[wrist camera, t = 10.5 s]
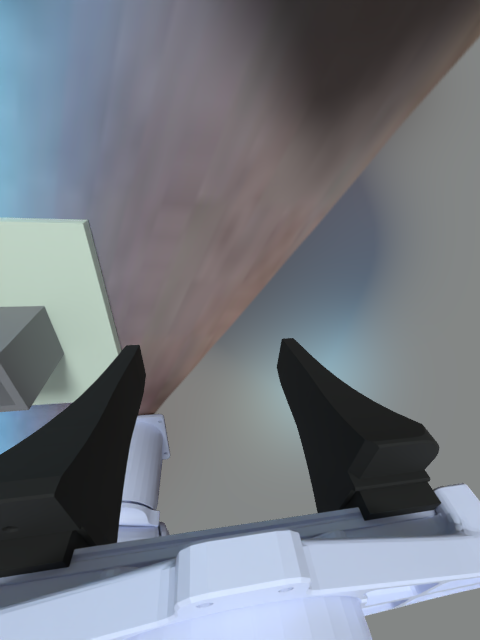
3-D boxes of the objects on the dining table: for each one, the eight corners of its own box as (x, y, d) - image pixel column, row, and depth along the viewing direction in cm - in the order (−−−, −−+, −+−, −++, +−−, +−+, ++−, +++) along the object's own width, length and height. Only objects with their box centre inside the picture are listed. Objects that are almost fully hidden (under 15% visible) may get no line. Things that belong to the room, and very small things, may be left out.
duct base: (131, 391, 28) (123, 423, 25) (-13, 400, 26) (-43, 437, 23) (87, 219, 18) (64, 236, 15) (-151, 213, 16) (-238, 230, 13)
